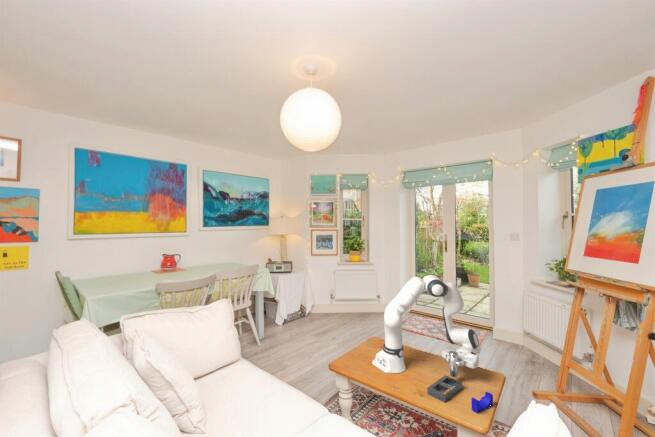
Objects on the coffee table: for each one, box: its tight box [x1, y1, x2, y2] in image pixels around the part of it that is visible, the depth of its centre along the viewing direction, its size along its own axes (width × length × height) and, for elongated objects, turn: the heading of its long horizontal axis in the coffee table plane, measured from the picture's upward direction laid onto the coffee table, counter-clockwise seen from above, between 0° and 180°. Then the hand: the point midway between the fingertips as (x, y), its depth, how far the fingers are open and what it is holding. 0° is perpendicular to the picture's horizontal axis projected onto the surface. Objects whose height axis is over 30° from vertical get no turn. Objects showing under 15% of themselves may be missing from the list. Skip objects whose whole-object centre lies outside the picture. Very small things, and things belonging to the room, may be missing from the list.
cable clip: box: [471, 391, 494, 414], centre depth 145 cm, size 12×4×6 cm, turn 116°
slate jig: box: [426, 375, 463, 403], centre depth 160 cm, size 10×19×4 cm, turn 130°
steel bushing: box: [449, 350, 459, 378], centre depth 169 cm, size 5×5×13 cm
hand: (452, 362), depth 168 cm, fingers closed on steel bushing, 4 cm apart
